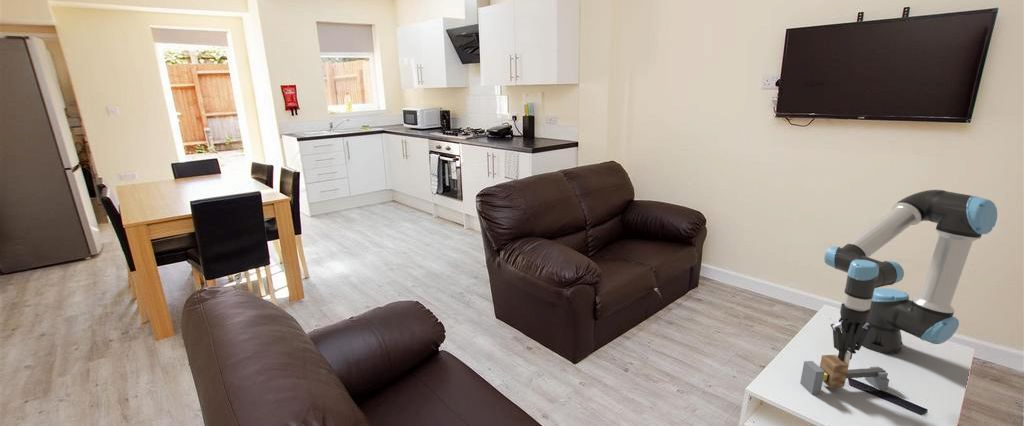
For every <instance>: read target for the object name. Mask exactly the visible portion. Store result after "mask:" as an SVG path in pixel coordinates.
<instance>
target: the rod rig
mask: <svg viewBox="0 0 1024 426" xmlns="http://www.w3.org/2000/svg"><path fill="white" fill-rule="evenodd" d="M801 371H802V372H801V376H800V377H801V378H800V381H799V382H800V383H799V384H800V385H801V386H802V387H803V388H805V390H806V391H808V392H809V394H811V395H819V394H820V395H821V392H822V387H823V383H824V382H823V381H825V380H829V376H830V375H829V374H828V373H827V372H826V371H824V370H823V369H821V368H820V365H818V364H817V363H816V362H815V361H814V360H806V361H805V360H804V361H803V366H802V370H801ZM888 375H889V373H888V372H887V371H886V370H885V369H884V368H882V367H880V366H870V367H869V368H856V369H853V368H852V369H848V371H847V376H846V380H847V379H858V378H864V380H865V381H867V382H868V383H869V384H870V385H871V386H872V387H874V388H875V387H876V388H875V389H877V388H878V389H880V390H879V391H886V390H888V386H889V383H890V379H889V378H888ZM878 389H877V390H878Z"/></svg>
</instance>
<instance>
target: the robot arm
mask: <svg viewBox="0 0 1024 426" xmlns="http://www.w3.org/2000/svg"><path fill="white" fill-rule="evenodd" d="M997 220H998V208H997V206H996V204H995V203H994V201H992V200H991V199H987V198H984V197H980V196H976V195H970V194H964V193H959V192H958V193H957V192H952V191H949V190H948V191H946V190H943V189H929V190H922V191H919V192H916V193H913V194H910V195H907V196H906V197H904V198H901V199H900V200H899V201H897V202H896V203H895V204H894V205H892V207H891V210H890V211H889V212H888V213H886V214H885V215H884V216H882V217H881V218H880V219H878V220H877V221H876V222H874V223H873V224H871V226H869V227H868V228H867V229H865V230H864V231H863V232H861V233H860V234H858V235H857V236H856V237H855V238H853V239H852V240H851V241H849V242H848V243H847V244H845V245H844V246H843V247H841V246H836V245H835V246H834V245H833V246H830V247H829V248H827V249H826V251H825V252H824V255H823V259H824V263H825V265H826V266H828V267H831V268H833V269H835V270H838V271H840V272H841V271H842V272H845V273H847V275H846V276H847V277H846V282H845V287H844V291H843V296H842V300H841V302H842V303H841V304H840V305H841V306H840V311H839V313H840V318H839V319H838V322H837V323H831V324H830V327H831V329H832V339H833V340H832V341H833V348H834V349H836V350H837V351H838V354H837V356H838V358H839V359H840V360H843V361H845V362H846V363H847V364H848V365H849V366H850V361H851V360H852V359H853V354H854V355H856V354H857V352H856V351H858V352H859V351H860V350H861V347H864V348H866V349H868V350H870V351H874V352H876V353H877V352H878V353H881V354H882V353H883V354H888V355H889V354H890V355H891V354H892V355H893V354H894V355H896V354H899V353H901V352H902V350H903V347H904V344H903V339H902V333H901V332H902V331H903V332H905V333H907V334H909V335H912V336H914V337H916V338H918V339H920V340H922V341H925V342H927V343H928V342H929V343H930V344H933V345H940V344H944V343H945V342H947V341H948V340H950V339H951V338H952V337H953V335H954V334H955V333H956V332H957V330H958V328H959V325H960V322H959V319H958V318H957V317H956V316H954V314H955V309H954V307H953V306H952V305H951V304H952V301H953V299H954V296H955V293H956V290H957V287H958V285H959V281H960V278H961V276H962V274H963V270H964V268H965V265H966V262H967V260H968V256H969V253H970V251H971V247H972V245H973V242H974V241H977V240H980V239H981V237H982V235H987V234H990V233H991V232H992V230H993V228H994V227H995V226H996V224H997ZM923 221H925V222H930V223H931V222H932V223H935V224H936V227H935V231H936V232H937V233H938V238H937V242H936V243H935V244H936V245H935V248H934V251H933V254H932V257H931V260H930V263H929V265H928V269H927V272H926V275H925V277H924V280H923V283H922V286H921V290H920V293H919V295H918V296H915V297H913V298H912V300H910V295H909V294H908V293H907V292H906V291H903V290H900V289H895V288H890V287H889V288H887V286H892V285H894V284H897V283H899V282H901V281H903V279H904V277H905V271H904V268H903V267H902V266H901V264H900V263H898V262H897V261H893V260H884V261H880V260H877V259H876V258H875V259H874V258H872V257H871V256H872V255H873V254H875V253H876V252H877V251H879V250H880V249H881V248H882V247H884V246H885V245H887V244H888V243H889V242H891V241H892V240H893V239H895V238H896V237H897V236H899V234H901V233H903V232H904V231H905V230H906V229H908V228H909V227H910V226H916V225H918V224H920V223H921V222H923ZM885 287H886V288H885Z"/></svg>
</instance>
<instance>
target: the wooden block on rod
mask: <svg viewBox="0 0 1024 426" xmlns="http://www.w3.org/2000/svg"><path fill="white" fill-rule="evenodd" d="M849 366H850V364H849V365H848V364H847V363H846V362H845V361H843V360H840V359H839V358H838V354H822V355H821V359H820V364H819V367H820V368H821V369H823V370H824V371H826V372H827V373H828V374H829V375H830V376H829V380H825V381H823V383H824V384H825V385H827V386H828V387H829V388H831V389H833V388H845V386H846V385H845V384H846V380H847V379H846V376H847V371H848V370H849Z"/></svg>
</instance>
